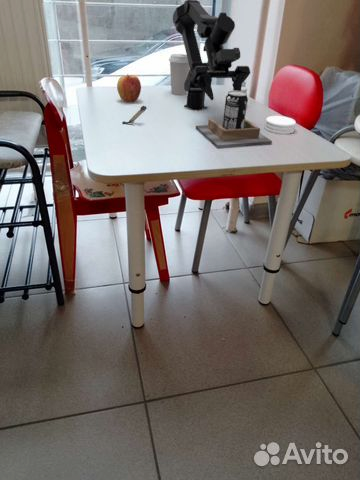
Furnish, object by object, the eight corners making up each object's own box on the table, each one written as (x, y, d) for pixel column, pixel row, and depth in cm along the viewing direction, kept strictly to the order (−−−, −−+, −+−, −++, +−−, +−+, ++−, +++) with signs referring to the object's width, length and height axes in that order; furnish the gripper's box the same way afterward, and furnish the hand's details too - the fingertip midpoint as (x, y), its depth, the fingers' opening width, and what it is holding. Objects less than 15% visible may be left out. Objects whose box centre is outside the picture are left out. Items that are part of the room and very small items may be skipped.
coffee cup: (189, 96, 152) (192, 57, 143) (167, 95, 152) (168, 56, 143) (189, 91, 160) (191, 54, 151) (168, 90, 160) (169, 53, 151)
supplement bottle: (229, 106, 142) (232, 80, 136) (232, 103, 146) (236, 78, 140) (242, 109, 140) (246, 82, 135) (245, 105, 145) (249, 79, 139)
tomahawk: (140, 129, 117) (140, 126, 117) (121, 125, 118) (121, 122, 118) (158, 111, 134) (158, 108, 133) (141, 108, 135) (141, 105, 134)
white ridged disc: (299, 134, 118) (301, 124, 116) (271, 135, 117) (273, 124, 114) (285, 125, 126) (288, 115, 124) (259, 125, 124) (261, 115, 122)
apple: (125, 105, 136) (124, 77, 130) (113, 100, 142) (111, 72, 136) (145, 102, 141) (145, 75, 135) (132, 97, 146) (132, 71, 141)
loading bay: (195, 128, 117) (196, 116, 115) (244, 125, 123) (246, 114, 120) (217, 148, 104) (218, 134, 101) (271, 144, 109) (274, 131, 106)
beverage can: (238, 129, 116) (244, 90, 109) (245, 136, 111) (251, 95, 104) (219, 129, 115) (223, 90, 108) (225, 136, 110) (230, 95, 103)
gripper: (196, 36, 105) (207, 84, 103) (252, 37, 111) (263, 83, 109) (186, 61, 116) (195, 105, 114) (237, 61, 121) (247, 103, 119)
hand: (225, 99), depth 114 cm, fingers open, 9 cm apart
